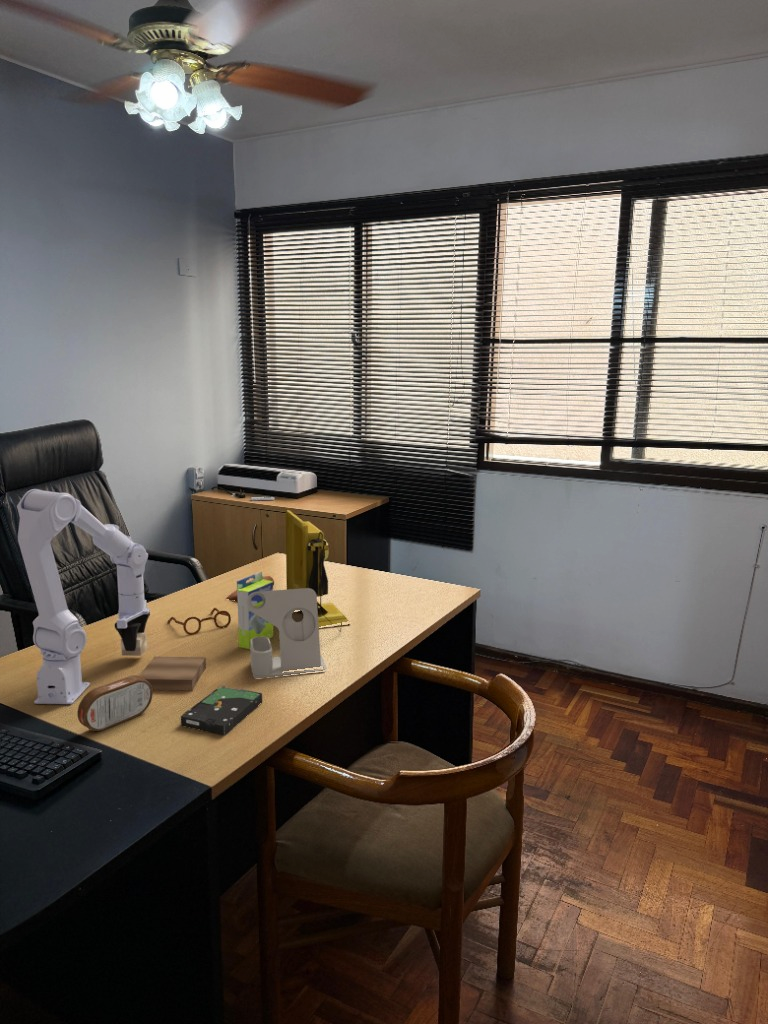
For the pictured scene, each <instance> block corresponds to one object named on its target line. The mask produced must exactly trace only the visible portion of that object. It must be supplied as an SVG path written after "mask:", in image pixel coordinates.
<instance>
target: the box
mask: <svg viewBox="0 0 768 1024" xmlns="http://www.w3.org/2000/svg"><path fill="white" fill-rule="evenodd" d="M262 577H263V571H260V572H257V573H254V574H252V575H249V576H247V577H244V578H242V579H239V580H237V581H236V590H237V597H238V602H237V618H238V619H237V620H238V621H237V622H238V623H237V625H238V648H242V649H246V650H250V641H251V639H253V638H255V637H267V638H270V639H271V638H273V637H274V625H272V624H271V623H269V622H267V621H266V620H264V619H262V618H261V617H259V616H257V615H256V614H254V613H252V612H251V611H249V609H248V607H247V599H248V596H249V595H250V594H251V593H253V592H260V591H273V590H274V585H273V581H269V580H264V579H262ZM250 579H252V580H253V581H252V580H250ZM249 580H250V581H251V582H250V581H249ZM247 581H248V583H247ZM262 603H263V599H262V597H261V596H259V595H255V596H253V597H252V599H251V604H252V605H253V606H254V607H259V606H261V605H262Z"/></svg>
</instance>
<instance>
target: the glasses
mask: <svg viewBox="0 0 768 1024" xmlns="http://www.w3.org/2000/svg"><path fill="white" fill-rule="evenodd" d="M214 612H216V613H215V614H214V616H211V617H203V618H202V619H200V618H198V617H197V616H190V617H187V618H186V619H185V620H184V622H182V621H180V620H177V619H176V617H174V616H171V617H170V618H169V619H168V620H167V622H168V623H171V622H172V621H174V623H175V624H177V625H182V627H183V631H184V632H185V634H186V635H188V636H189V635H190V636H193V635H196V634H198V633H200V632H201V631H200V630H201V629H202V622H205V621H209V620H210V621H211V620H213V622H214V625H215V627H216V628H218V629H224V628H223V627H225V628H228V627H229V626H230V624H231V623H232V622H231V621H232V619H231V618H232V617H231V614H230V612H229V611H227V610H219V609H218V608H217V607H213V608H212V610H211V611H210V614H211V613H212V614H213V613H214ZM219 615H221V616H226V617H228V619H227V620H228V621H227V622H226V624H225V625H221V626H220V625H219V623H217V622H218V621H217V617H218V616H219ZM191 620H196V621H197V622H198V628H197V630H196V631H194V632H193V631H192V632H190V631H188V630H187V623H188V622H189V621H191Z"/></svg>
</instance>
